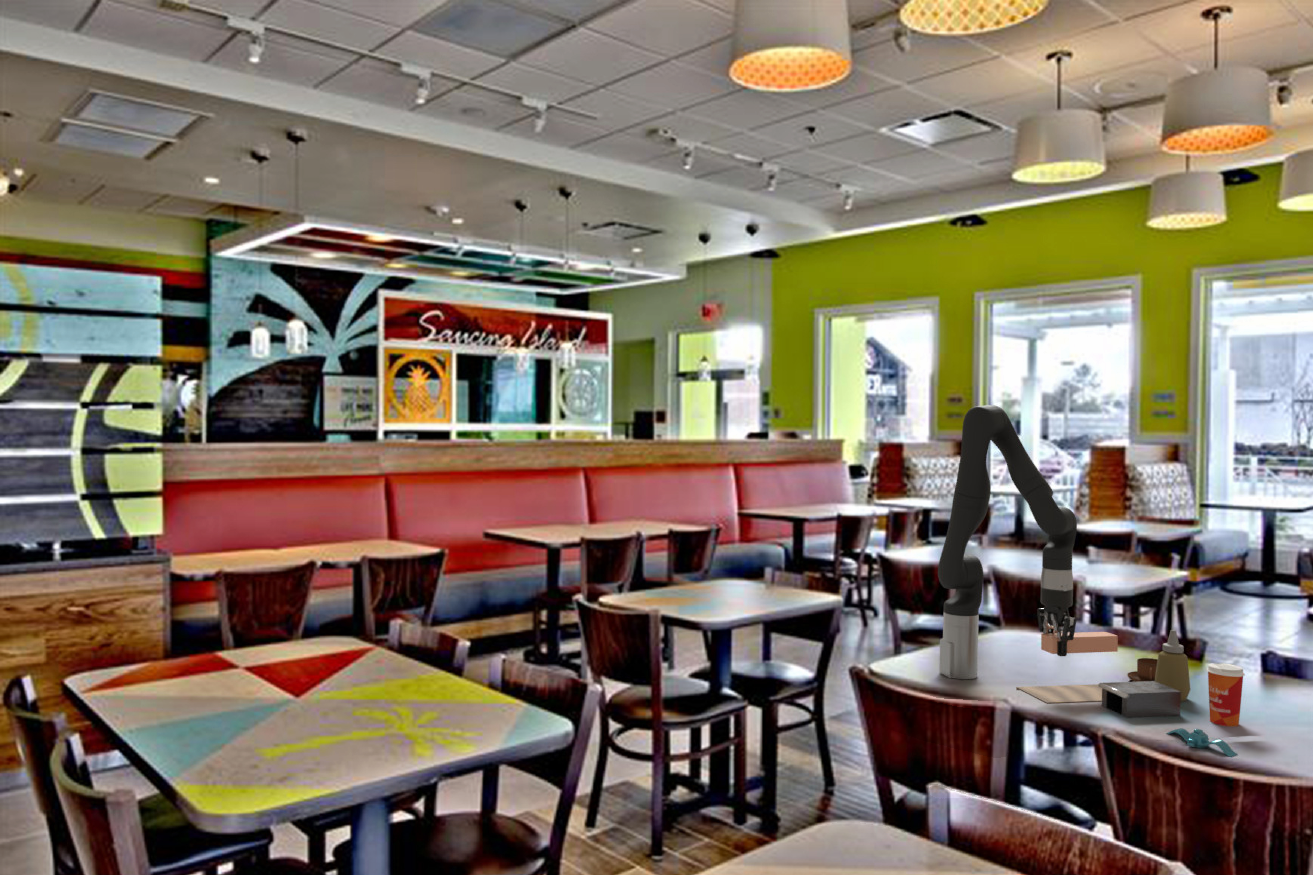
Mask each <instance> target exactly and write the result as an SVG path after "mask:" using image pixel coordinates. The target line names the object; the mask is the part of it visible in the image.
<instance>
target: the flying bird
mask: <svg viewBox="0 0 1313 875" xmlns="http://www.w3.org/2000/svg"><path fill="white" fill-rule="evenodd" d="M1165 734H1166V735H1172V734H1179V735H1180V736H1181V737H1182V739H1183V740H1184V741H1186V742H1187V743H1186V745H1187V746H1190V747H1192V748H1197V749H1205V748H1207V747H1209V746H1210V745H1215V746H1217V747H1218V748H1219V749H1220V750H1221V751H1222V752H1223V753H1224V754H1225V756H1227V757H1228V758H1233V757H1237V756H1239V754H1238V753H1237V752H1235V751H1234V750H1233V749H1232V748H1231V747H1230V746H1229V744H1227V742H1225V741H1224V740H1222V739H1215V740H1214V739H1213V740H1211V741H1209V740H1210V739H1209V735H1208V734H1207V733H1206V732H1204V731H1203V729H1200V728H1194V729H1193V731H1192V732H1189V731H1188V730H1186V729H1185V728H1183V727H1182V728H1177V729H1172V730H1170V731H1168V732H1166V733H1165Z"/></svg>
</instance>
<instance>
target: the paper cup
mask: <svg viewBox="0 0 1313 875" xmlns="http://www.w3.org/2000/svg"><path fill="white" fill-rule="evenodd" d="M1207 666H1208V667H1207V668H1206V670H1205V671H1207V684H1208V708H1209V709H1208V710H1209V721H1210V722H1211V723H1212V724H1216V725H1219V726H1222V727H1223V726H1224V727H1238V726H1239V725H1240V716H1241V705H1242V694H1243V682H1244V676H1245V675H1246V674H1245V672H1244V669H1243V667H1241V666H1238V665H1236V664H1231V663H1230V664H1229V663H1223V662H1221V663H1218V662H1217V663H1216V662H1215V663H1212V662H1211V663H1209V664H1208V665H1207Z"/></svg>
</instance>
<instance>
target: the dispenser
mask: <svg viewBox="0 0 1313 875" xmlns="http://www.w3.org/2000/svg"><path fill="white" fill-rule="evenodd" d="M1097 684H1098V686H1099V687H1100V688H1102V702H1101V705H1100V706H1102V707H1103V708H1105V709H1107V710H1110V711H1112V712H1114V713H1116V714H1117V715H1119V716H1123V717H1124V718H1127V719H1135V718H1137V719H1138V718H1160V717H1181V716H1182V715H1181V701H1180V700H1181V692H1180V691H1178V690H1175V689H1173V688H1170V687H1167V686H1165V685H1162V684H1160V683H1157V682H1155V681H1142V682H1134V681H1119V682H1118V681H1117V682H1116V681H1115V682H1114V681H1113V682H1099V683H1097Z"/></svg>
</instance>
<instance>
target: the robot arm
mask: <svg viewBox="0 0 1313 875" xmlns="http://www.w3.org/2000/svg"><path fill="white" fill-rule="evenodd" d="M961 431H962V433H961V447H960V448H961V449H960V456H959V457H960V458H959V459H960V460H959V464H958V471H957V477H956V482H955V488H954V491H953V496H952V497H953V498H952V504H951V505H952V506H951V512H950V516H949V522H948V528H947V532H946V536H945V539H944V543H943V544H944V545H943V547H942V549H941V550H942V551H941V554H940V558H939V561H938V567H937V577H938V580H939V583H940V585H941V586H942V587H943V588H944V589H948V590H956V592H955V593H954V595H953V596H951V597H950V598H948V599H947V600H945V601H944V603H943V624H942V625H943V628H942V638H940V639H939V673H940V674H941V675H943V676H946V677H947V678H948V679H959V680H960V679H961V680H971V679H976V678H977V677H978V670H979V669H978V667H979V666H978V665H979V664H978V663H979V661H978V660H979V658H978V655H979V653H978V652H979V620H980V619H979V615H980V614H979V613H980V607H981V605H982V602H983V601H982V599H983V588H984V587H983V586H984V569H983V564H982V562H981V560H980V559H979V557H977V556H976V555H973V554H965V553H966V548H967V545H968V543H969V541H970V539H971V537H973V535H974V533H975V532H976V530H977V529H978V528H979V527H980V525H981V524H982V522H983V521H984V519H985V517H986V515H987V513H988V508H989V505H990V504H989V503H990V498H991V491H992V490H991V489H992V487H991V481H990V476H989V472H988V468H987V458H988V453H989V446H990V443H991V442H992V443H993V444H994V445H995V447H997V449H998V450H999V451H1000V453H1001V454H1002V456H1003V458H1004V461H1005V464H1006V467H1007V470H1008V473H1009V476H1010V479H1011V481H1012V483H1013V484H1014V486H1015V488H1016V490H1017V491H1018V492H1019V493H1020V495H1021V496H1022V499H1024V501H1025V502H1026V504H1027V505H1028V507H1029V510H1030V512H1031V514H1032V516H1033V519H1034V521H1035V522H1036V524H1037V526H1038V528H1040V529H1041V530H1042V532H1043V533H1044V534H1046V535H1048V538H1047V543H1046V545H1045V546H1044V547H1043V549H1042V558H1041V559H1042V560H1041V561H1042V563H1041V564H1042V565H1041V566H1042V567H1041V573H1040V574H1041V575H1040V603H1041V604H1042V605H1043V606H1044V607H1043V608H1040V607H1039V608H1037V609H1036V612H1037V613H1036V614H1037V622H1038V629H1039V632H1040V633H1042V634H1050V633H1057V639H1058V641H1057V654H1056V655H1057V656H1058V657H1066V656H1067V655H1068V653H1067V642H1068V641H1069V640H1073V638H1074V633H1076V632H1075V631H1076V627H1077V626H1076V625H1077V618H1076V617H1071V616H1070V613H1069V608H1070V607H1072V606H1073V604H1074V601H1073V597H1074V575H1073V550H1074V549H1073V548H1074V546H1075V541H1076V536H1077V531H1078V530H1077V528H1078V523H1077V521H1078V520H1077V517H1076V515H1075V513H1074V512H1073V511H1072V509H1070V508H1067V507H1064V506H1060V507H1059V506H1058V504H1057V502H1056V501H1055V499H1054V498H1053V495H1054V491H1053V488H1052V487H1051V486H1050V485H1051V484H1049V482H1048V481H1047V480H1046V479H1045V477H1044V476H1043V474H1042V473H1041V471H1040V470H1039V469H1038V468H1037V466H1036V465H1035V463H1034V462H1033V460H1032V459H1031V457H1030V455H1029V454H1028V452H1027V450H1026V449H1025V447H1024V445H1023V443H1022V441H1021V439H1020V437H1019V436H1018V433H1017V431H1016V429H1015V427H1014V425H1013V424H1012V422H1011V419H1010V417H1009V416H1008V414H1007V412H1006V411H1005V410H1004V408H1002V407H1001V406H998V405H995V404H994V405H993V404H985V405H977V406H973V407H971V408H970V409H968V411H967V412H966V413H965V415H964V419H963V422H962V430H961ZM1061 633H1062V636H1061ZM1068 633H1070V634H1069V635H1068Z"/></svg>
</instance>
